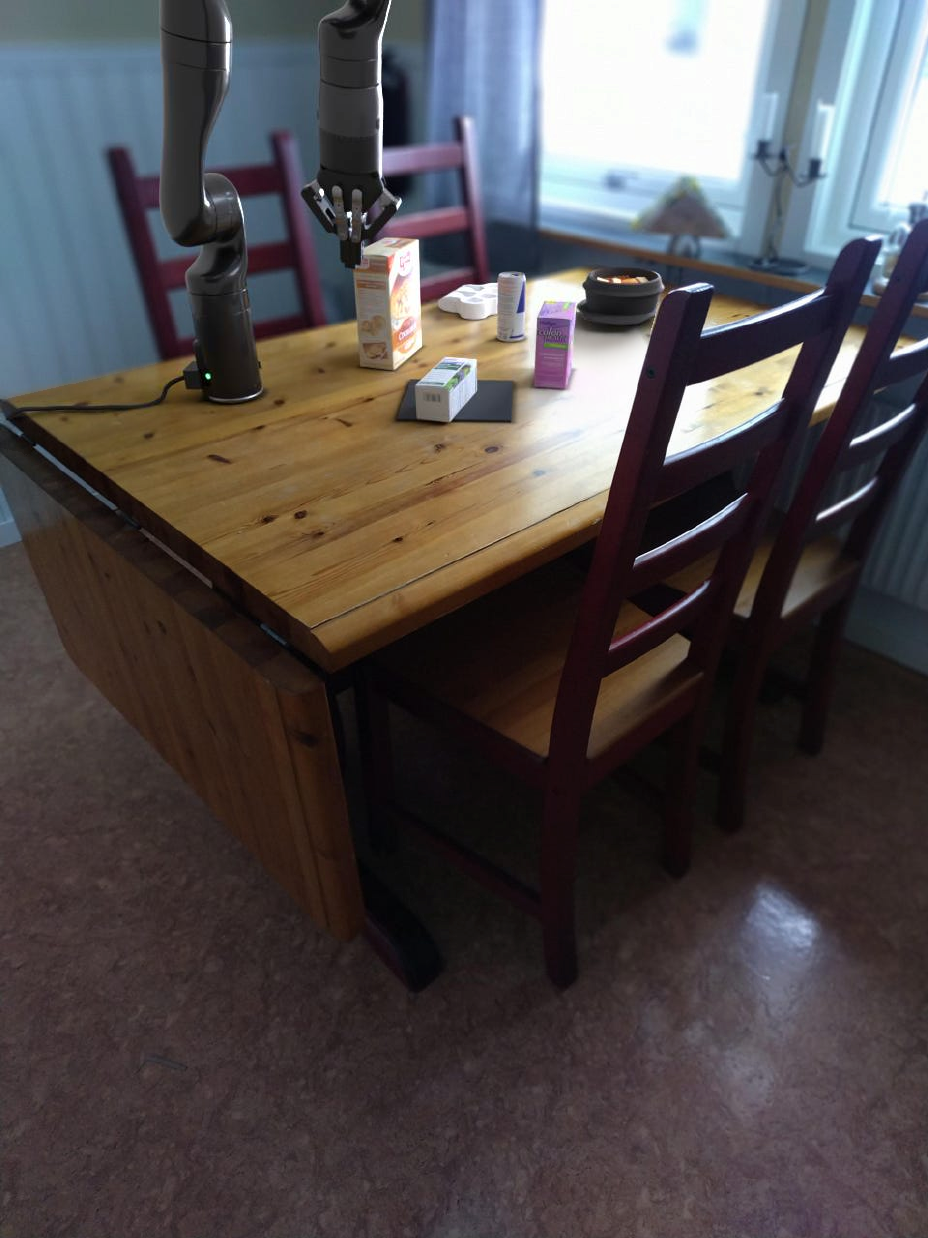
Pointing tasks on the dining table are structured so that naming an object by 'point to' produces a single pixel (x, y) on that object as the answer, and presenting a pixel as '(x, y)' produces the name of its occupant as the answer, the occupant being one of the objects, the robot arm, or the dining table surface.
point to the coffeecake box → (388, 303)
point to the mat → (470, 403)
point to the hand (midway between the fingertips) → (351, 265)
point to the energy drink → (511, 306)
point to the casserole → (621, 295)
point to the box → (554, 344)
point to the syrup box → (446, 389)
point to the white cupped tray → (472, 301)
